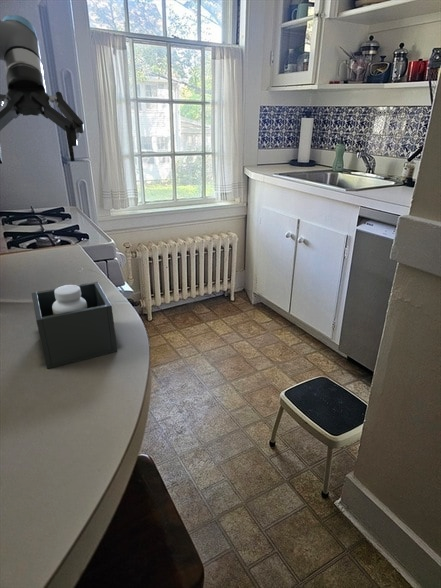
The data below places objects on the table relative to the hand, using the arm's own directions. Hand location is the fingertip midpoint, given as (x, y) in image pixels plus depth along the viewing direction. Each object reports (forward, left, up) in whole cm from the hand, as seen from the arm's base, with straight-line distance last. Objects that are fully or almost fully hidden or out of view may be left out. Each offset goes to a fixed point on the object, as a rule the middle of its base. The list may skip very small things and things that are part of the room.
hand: (36, 158), depth 79 cm
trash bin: (+13, -25, -28) cm, 40 cm away
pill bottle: (+13, -25, -28) cm, 39 cm away
